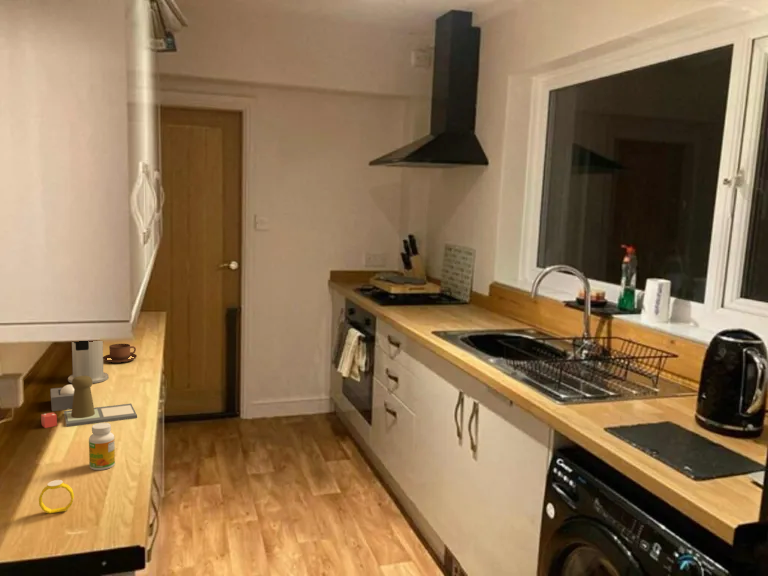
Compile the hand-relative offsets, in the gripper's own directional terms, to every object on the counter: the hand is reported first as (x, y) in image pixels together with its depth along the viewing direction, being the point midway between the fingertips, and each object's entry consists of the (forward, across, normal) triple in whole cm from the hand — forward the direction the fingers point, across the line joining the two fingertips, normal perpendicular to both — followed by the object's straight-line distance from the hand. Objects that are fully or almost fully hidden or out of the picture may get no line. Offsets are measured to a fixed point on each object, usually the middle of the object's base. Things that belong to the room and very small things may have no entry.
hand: (81, 346), depth 178 cm
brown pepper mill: (+20, 0, 0) cm, 20 cm away
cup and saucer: (+22, -66, +17) cm, 71 cm away
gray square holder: (+21, -14, -3) cm, 25 cm away
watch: (+20, +59, -9) cm, 62 cm away
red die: (+20, +4, -9) cm, 23 cm away
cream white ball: (+20, -14, -3) cm, 25 cm away
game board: (+21, +1, +4) cm, 21 cm away
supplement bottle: (+20, +39, +1) cm, 44 cm away
